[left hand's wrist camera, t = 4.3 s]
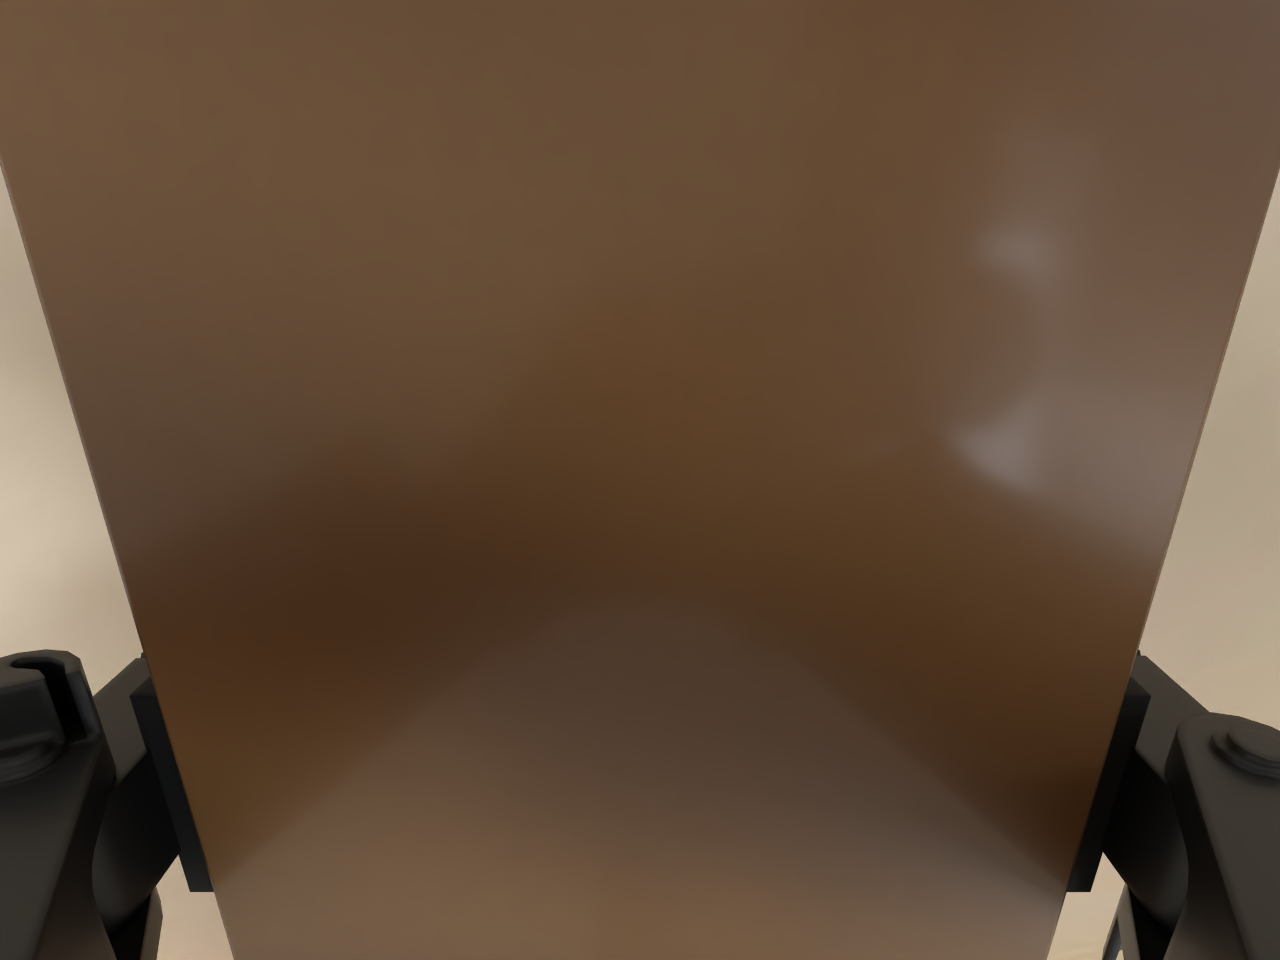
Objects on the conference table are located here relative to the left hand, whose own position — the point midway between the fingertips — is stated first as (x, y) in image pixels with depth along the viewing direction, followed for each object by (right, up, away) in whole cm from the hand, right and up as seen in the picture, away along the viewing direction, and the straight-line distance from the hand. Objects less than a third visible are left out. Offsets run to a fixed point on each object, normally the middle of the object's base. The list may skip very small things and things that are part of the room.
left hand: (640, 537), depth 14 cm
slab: (0, -24, +10) cm, 25 cm away
